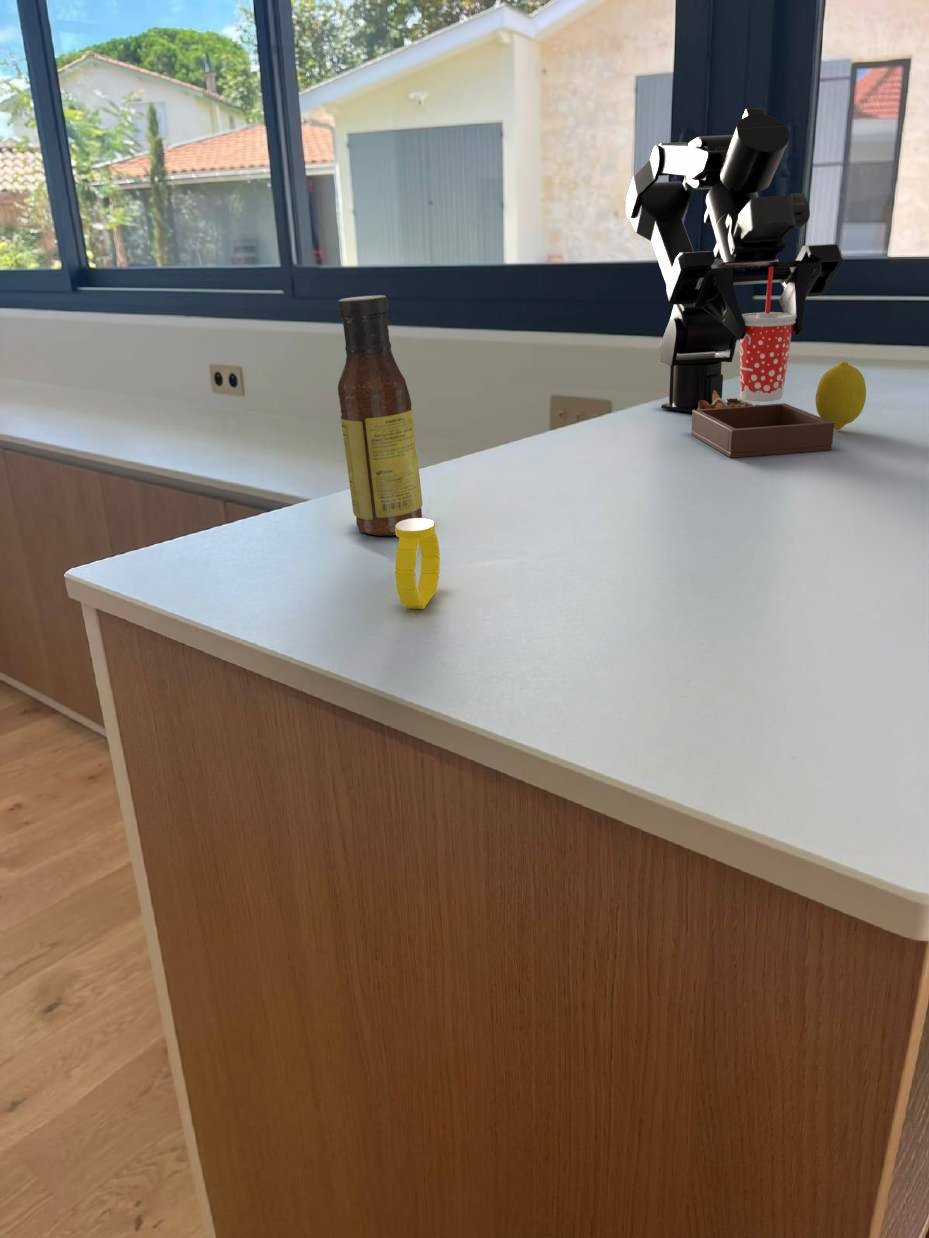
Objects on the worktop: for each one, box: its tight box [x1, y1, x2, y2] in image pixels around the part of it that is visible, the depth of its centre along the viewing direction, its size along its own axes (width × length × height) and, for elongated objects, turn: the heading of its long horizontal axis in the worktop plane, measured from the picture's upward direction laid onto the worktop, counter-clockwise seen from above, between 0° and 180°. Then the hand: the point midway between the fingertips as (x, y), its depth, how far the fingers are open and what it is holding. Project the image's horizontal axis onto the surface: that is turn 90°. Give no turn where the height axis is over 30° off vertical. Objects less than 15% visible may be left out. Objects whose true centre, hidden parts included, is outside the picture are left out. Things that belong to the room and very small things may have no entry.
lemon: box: [815, 361, 867, 431], centre depth 112 cm, size 6×6×8 cm
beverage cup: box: [739, 267, 797, 402], centre depth 105 cm, size 6×6×14 cm
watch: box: [394, 517, 441, 610], centre depth 67 cm, size 6×3×6 cm, turn 165°
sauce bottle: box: [337, 295, 423, 537], centre depth 82 cm, size 6×6×20 cm
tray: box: [691, 402, 835, 459], centre depth 109 cm, size 13×12×3 cm
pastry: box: [697, 390, 759, 410], centre depth 122 cm, size 7×12×4 cm, turn 152°
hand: (770, 334), depth 104 cm, fingers closed on beverage cup, 6 cm apart
